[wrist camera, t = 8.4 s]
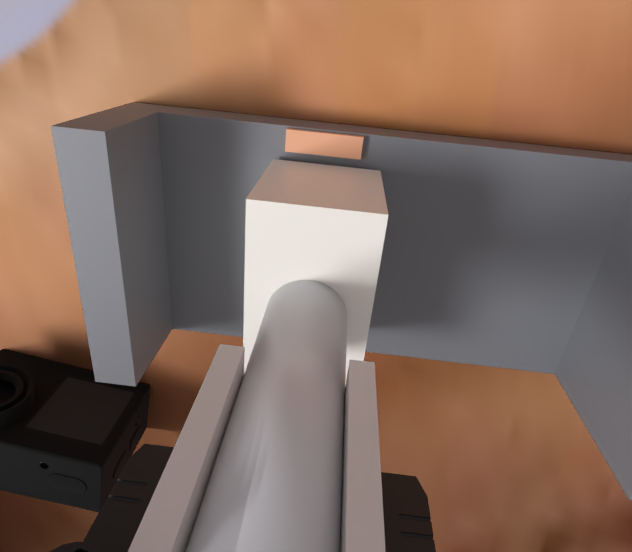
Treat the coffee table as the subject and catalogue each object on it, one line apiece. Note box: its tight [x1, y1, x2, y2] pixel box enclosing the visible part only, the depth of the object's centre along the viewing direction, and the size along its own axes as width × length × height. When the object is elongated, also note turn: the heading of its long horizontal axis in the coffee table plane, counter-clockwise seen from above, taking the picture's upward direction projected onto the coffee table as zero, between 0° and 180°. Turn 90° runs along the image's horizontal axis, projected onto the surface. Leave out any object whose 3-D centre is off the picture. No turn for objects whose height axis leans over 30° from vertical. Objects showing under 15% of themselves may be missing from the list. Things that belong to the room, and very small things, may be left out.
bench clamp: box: [51, 102, 632, 500], centre depth 21 cm, size 28×12×10 cm, turn 85°
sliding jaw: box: [185, 159, 389, 552], centre depth 15 cm, size 5×9×18 cm, turn 175°
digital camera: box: [0, 349, 150, 512], centre depth 29 cm, size 10×5×7 cm, turn 76°
